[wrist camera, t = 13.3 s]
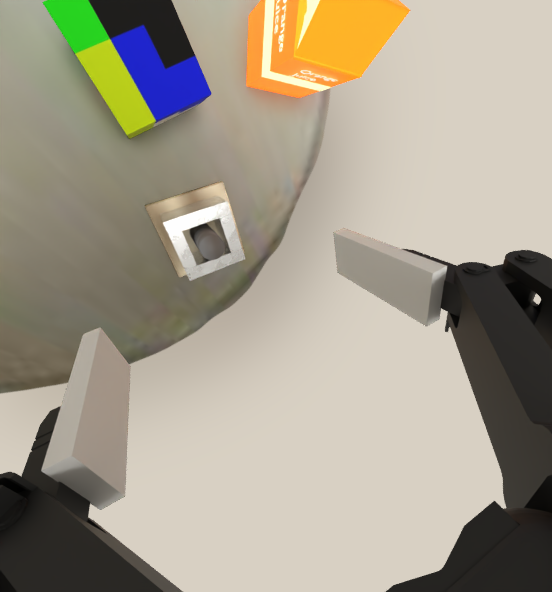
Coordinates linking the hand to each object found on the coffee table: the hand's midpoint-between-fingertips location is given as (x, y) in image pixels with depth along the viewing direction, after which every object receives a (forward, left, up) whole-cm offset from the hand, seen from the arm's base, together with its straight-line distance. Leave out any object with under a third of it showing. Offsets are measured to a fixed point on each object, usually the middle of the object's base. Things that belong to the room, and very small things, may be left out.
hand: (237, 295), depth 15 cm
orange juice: (+21, +14, -33) cm, 41 cm away
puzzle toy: (+2, +15, -33) cm, 36 cm away
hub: (+2, -5, -31) cm, 32 cm away
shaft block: (+2, -5, -33) cm, 33 cm away
